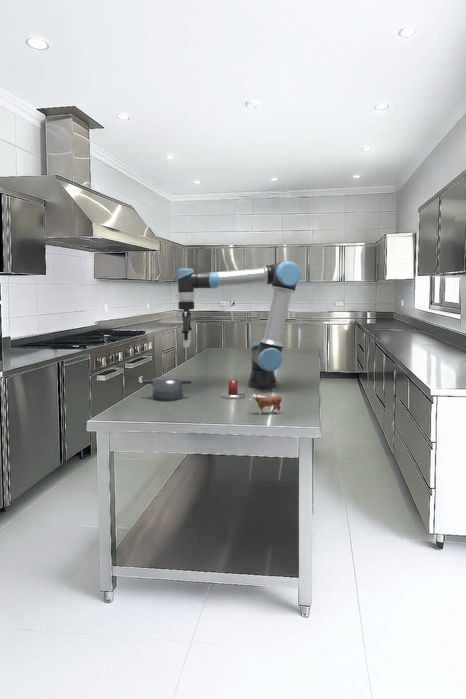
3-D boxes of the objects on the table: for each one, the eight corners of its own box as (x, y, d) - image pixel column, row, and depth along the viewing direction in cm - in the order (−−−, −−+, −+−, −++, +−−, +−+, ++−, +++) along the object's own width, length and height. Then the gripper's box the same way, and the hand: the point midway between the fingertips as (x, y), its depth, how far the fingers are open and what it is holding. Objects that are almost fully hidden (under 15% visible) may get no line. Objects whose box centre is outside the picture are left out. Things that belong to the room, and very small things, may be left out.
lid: (243, 394, 267) (243, 378, 266) (245, 399, 256) (245, 382, 255) (221, 394, 266) (221, 378, 265) (221, 399, 256) (221, 382, 255)
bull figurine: (248, 412, 230) (248, 393, 229) (280, 411, 231) (280, 392, 230) (249, 415, 226) (250, 395, 225) (282, 414, 227) (282, 394, 226)
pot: (191, 394, 265) (191, 376, 264) (190, 401, 252) (190, 381, 250) (145, 395, 265) (145, 376, 263) (142, 401, 251) (141, 381, 250)
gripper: (180, 300, 276) (181, 342, 279) (176, 302, 252) (177, 348, 254) (195, 300, 277) (196, 342, 279) (192, 302, 252) (193, 348, 254)
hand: (187, 345), depth 267 cm, fingers open, 13 cm apart
